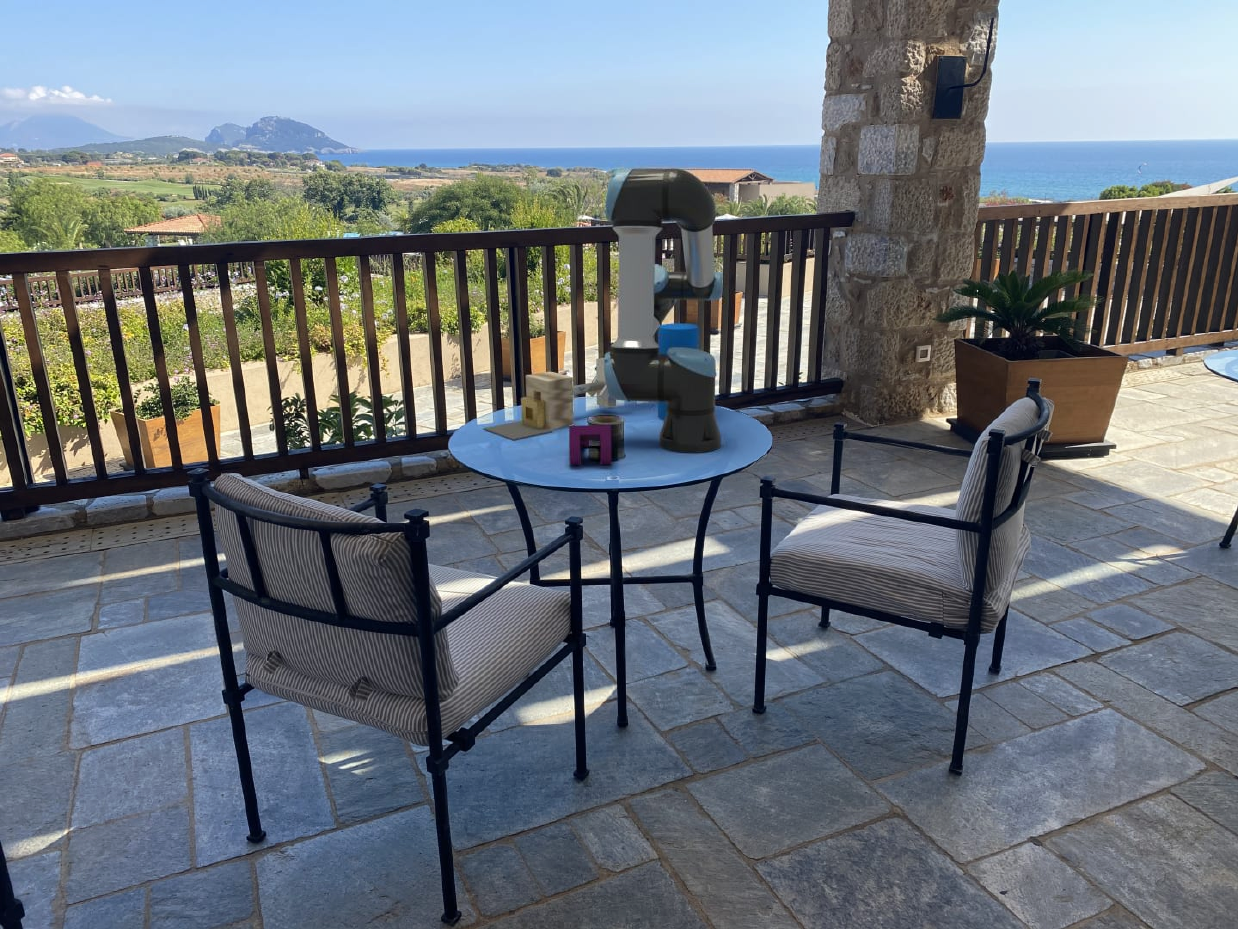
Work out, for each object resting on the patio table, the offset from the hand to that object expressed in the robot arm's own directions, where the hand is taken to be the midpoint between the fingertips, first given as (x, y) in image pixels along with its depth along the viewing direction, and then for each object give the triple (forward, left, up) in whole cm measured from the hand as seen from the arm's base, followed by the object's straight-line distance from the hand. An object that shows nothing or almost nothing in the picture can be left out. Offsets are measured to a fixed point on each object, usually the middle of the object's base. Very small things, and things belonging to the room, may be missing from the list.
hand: (596, 395), depth 243 cm
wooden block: (-12, +10, -5) cm, 17 cm away
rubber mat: (-20, +17, -5) cm, 27 cm away
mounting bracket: (-39, -6, -6) cm, 40 cm away
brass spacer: (-16, +14, -5) cm, 22 cm away
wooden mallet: (-5, +4, -3) cm, 7 cm away
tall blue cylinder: (0, -23, -5) cm, 23 cm away
